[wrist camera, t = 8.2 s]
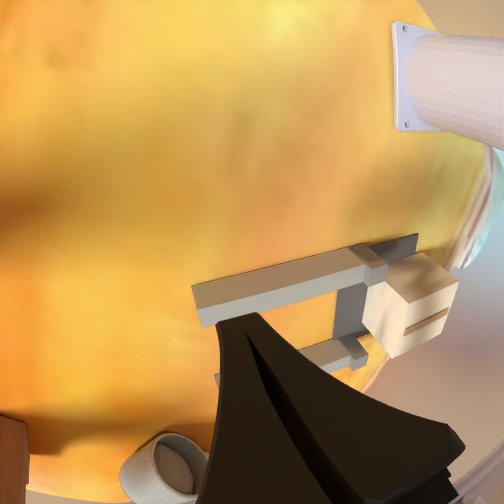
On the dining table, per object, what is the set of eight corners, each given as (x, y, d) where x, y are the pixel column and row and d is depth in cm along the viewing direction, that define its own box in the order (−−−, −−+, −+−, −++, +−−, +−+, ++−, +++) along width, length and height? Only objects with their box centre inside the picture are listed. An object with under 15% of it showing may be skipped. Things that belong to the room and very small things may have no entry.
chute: (363, 242, 23) (388, 263, 21) (348, 342, 29) (365, 365, 26) (191, 285, 21) (199, 317, 18) (216, 384, 26) (226, 413, 24)
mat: (416, 233, 25) (418, 234, 25) (397, 319, 30) (398, 320, 30) (340, 254, 23) (342, 255, 23) (331, 345, 28) (332, 347, 28)
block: (421, 251, 26) (460, 281, 22) (409, 303, 29) (441, 334, 25) (370, 268, 25) (410, 305, 20) (361, 322, 28) (393, 359, 24)
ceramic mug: (111, 453, 28) (119, 512, 22) (146, 424, 27) (159, 493, 20) (185, 467, 34) (199, 517, 27) (225, 441, 32) (244, 497, 26)
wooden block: (30, 455, 25) (36, 584, 10) (-3, 445, 23) (-4, 573, 8) (26, 422, 22) (28, 584, 7) (-12, 409, 20) (-22, 568, 5)
